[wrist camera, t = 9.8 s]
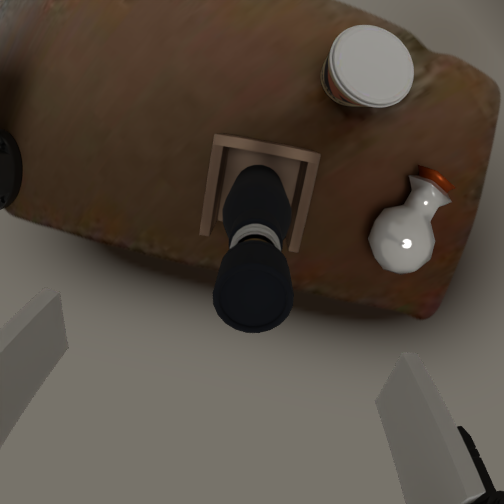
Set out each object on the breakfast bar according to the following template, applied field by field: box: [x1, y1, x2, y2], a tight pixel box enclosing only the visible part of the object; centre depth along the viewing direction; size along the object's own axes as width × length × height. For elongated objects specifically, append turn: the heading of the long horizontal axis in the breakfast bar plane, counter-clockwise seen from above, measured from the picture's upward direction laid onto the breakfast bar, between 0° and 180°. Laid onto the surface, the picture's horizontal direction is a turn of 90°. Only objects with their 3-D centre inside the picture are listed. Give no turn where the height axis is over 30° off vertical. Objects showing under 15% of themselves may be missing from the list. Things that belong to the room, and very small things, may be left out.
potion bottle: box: [368, 165, 455, 275], centre depth 40 cm, size 9×10×15 cm
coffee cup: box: [321, 25, 414, 108], centre depth 32 cm, size 9×9×12 cm
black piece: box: [213, 165, 294, 333], centre depth 29 cm, size 6×6×30 cm
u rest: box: [199, 133, 321, 253], centre depth 40 cm, size 12×12×8 cm
